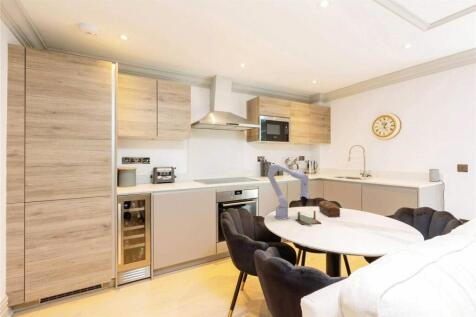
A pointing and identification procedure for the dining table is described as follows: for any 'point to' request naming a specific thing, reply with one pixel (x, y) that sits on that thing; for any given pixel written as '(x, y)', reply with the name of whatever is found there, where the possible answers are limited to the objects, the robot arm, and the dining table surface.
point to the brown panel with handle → (313, 220)
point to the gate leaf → (305, 218)
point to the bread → (329, 209)
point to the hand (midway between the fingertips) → (304, 206)
